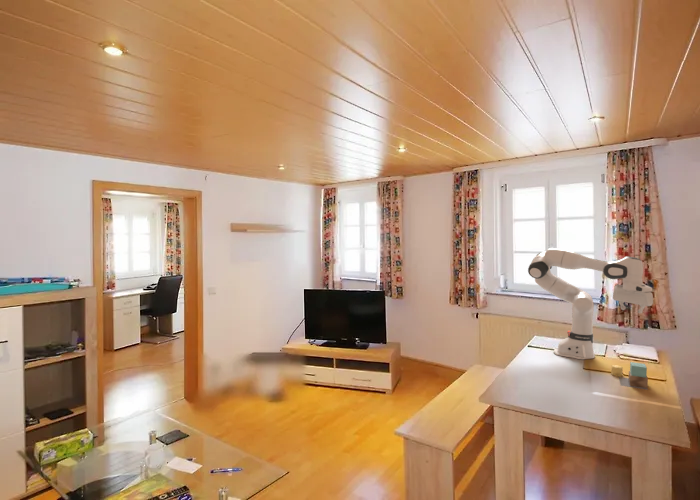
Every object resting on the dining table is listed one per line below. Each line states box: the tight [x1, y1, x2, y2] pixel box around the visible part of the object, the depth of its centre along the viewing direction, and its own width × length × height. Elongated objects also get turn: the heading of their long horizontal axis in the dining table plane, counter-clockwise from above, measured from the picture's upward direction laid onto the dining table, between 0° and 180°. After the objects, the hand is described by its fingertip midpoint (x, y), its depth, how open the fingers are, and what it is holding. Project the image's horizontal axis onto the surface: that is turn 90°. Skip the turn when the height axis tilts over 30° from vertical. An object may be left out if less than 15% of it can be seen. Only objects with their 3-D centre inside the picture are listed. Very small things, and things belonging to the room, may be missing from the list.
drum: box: [610, 364, 624, 377], centre depth 212 cm, size 5×5×5 cm
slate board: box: [618, 376, 649, 391], centre depth 200 cm, size 11×13×1 cm
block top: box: [629, 361, 648, 378], centre depth 198 cm, size 6×6×5 cm
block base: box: [628, 370, 649, 388], centre depth 198 cm, size 7×7×5 cm
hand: (631, 311), depth 219 cm, fingers open, 8 cm apart
